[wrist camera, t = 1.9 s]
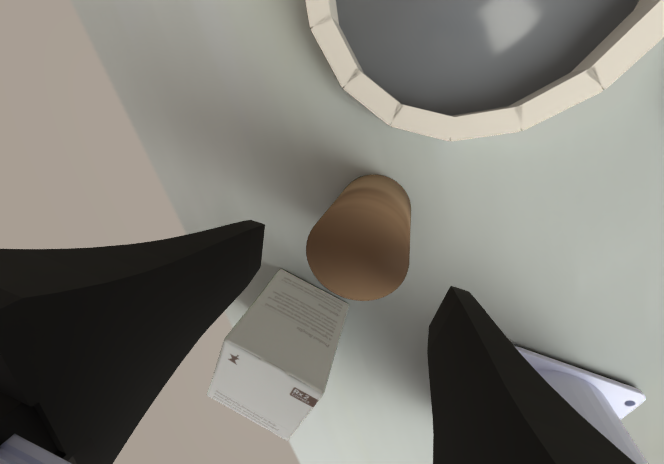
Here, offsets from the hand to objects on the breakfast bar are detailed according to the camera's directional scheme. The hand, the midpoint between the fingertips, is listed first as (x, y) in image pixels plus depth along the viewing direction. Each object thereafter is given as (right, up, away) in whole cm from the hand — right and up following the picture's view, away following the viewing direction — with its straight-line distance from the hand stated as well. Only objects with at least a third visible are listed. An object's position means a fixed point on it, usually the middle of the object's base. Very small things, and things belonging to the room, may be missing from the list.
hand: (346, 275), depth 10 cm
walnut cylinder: (+2, +3, +7) cm, 7 cm away
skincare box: (-3, -5, +12) cm, 13 cm away
